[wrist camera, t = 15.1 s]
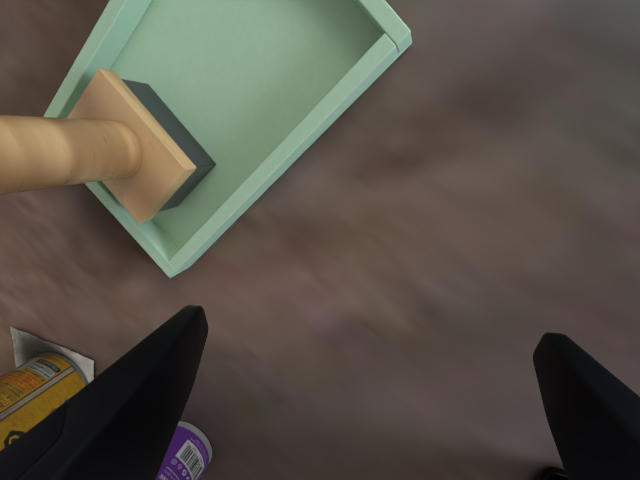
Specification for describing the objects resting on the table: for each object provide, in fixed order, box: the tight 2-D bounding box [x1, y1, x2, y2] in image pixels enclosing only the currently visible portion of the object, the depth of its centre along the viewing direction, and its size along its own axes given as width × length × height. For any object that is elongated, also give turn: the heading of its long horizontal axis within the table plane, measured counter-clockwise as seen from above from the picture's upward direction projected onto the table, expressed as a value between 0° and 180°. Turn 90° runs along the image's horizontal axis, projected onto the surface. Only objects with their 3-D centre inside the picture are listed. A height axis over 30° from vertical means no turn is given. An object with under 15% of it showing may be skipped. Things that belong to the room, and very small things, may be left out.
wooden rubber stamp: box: [0, 68, 216, 223], centre depth 16 cm, size 4×6×13 cm
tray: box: [43, 0, 412, 278], centre depth 19 cm, size 19×12×2 cm, turn 133°
